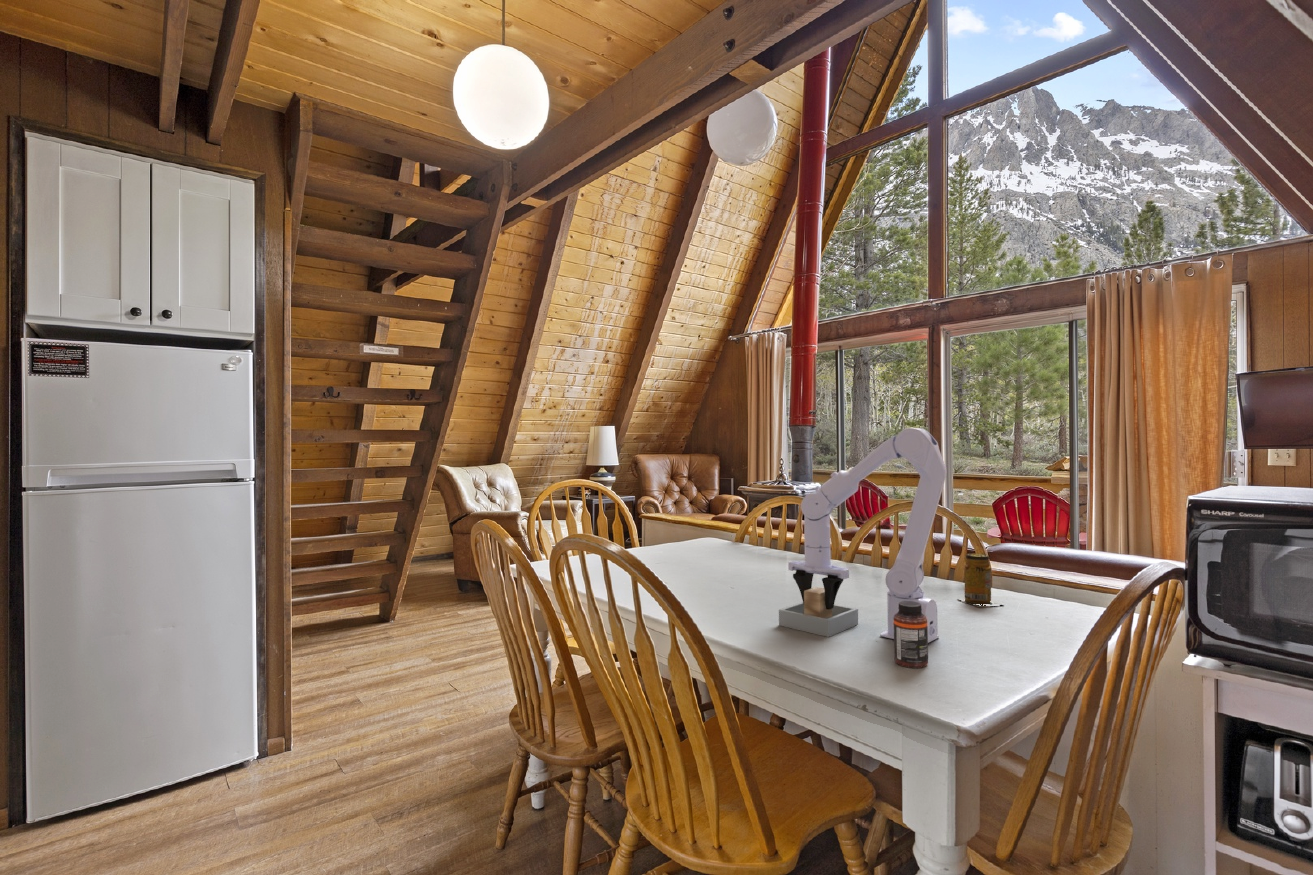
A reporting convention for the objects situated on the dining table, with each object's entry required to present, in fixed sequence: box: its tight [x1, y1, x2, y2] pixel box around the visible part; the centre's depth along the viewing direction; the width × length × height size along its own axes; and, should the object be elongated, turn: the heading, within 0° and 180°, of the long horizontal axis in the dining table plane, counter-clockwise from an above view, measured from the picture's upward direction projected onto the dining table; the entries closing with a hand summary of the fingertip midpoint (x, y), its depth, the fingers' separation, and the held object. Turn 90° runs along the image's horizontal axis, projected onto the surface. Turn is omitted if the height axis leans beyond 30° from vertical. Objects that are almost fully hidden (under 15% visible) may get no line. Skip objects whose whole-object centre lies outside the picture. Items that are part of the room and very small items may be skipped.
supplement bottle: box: [893, 601, 929, 669], centre depth 123 cm, size 6×6×11 cm
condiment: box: [961, 552, 1000, 608], centre depth 166 cm, size 7×8×12 cm
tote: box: [778, 601, 859, 638], centre depth 149 cm, size 13×13×4 cm
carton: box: [804, 586, 832, 619], centre depth 148 cm, size 4×5×7 cm
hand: (818, 606), depth 149 cm, fingers open, 5 cm apart
